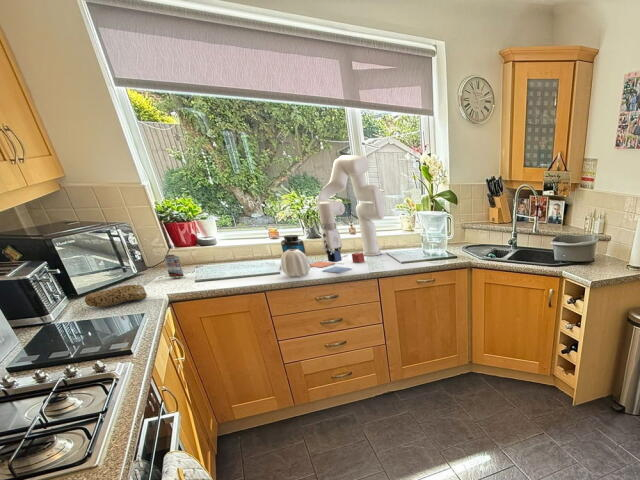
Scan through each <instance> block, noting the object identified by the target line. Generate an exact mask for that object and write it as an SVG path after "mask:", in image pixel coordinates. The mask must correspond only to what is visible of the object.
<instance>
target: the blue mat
mask: <svg viewBox="0 0 640 480" xmlns="http://www.w3.org/2000/svg"><path fill="white" fill-rule="evenodd" d="M349 270H352V268H351V267H344V266H332V267H329V268H327V269H324V270H322V272H323V273H331V274H341V273H344V272H346V271H349Z"/></svg>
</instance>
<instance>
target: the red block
mask: <svg viewBox="0 0 640 480" xmlns="http://www.w3.org/2000/svg"><path fill="white" fill-rule="evenodd" d="M351 259H352V263H357V264H361V263H364V262H365V255H364V254H363V253H362V252H354V253H351Z"/></svg>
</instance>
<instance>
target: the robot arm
mask: <svg viewBox="0 0 640 480" xmlns="http://www.w3.org/2000/svg"><path fill="white" fill-rule="evenodd" d="M369 169H370V161H369V159H368V157H366V156H365V155H355V154H343V155H340V156H339V157H338V158H336V159H335V160H334V161H333V164H332V169H331V175H330V178H329V182H328V183H327V184H325V185H324V186H323V187H322V188H321V190H320V191H319V192H318V196H317V201H316V209H317V212H318V215H319V220H320V227H321V238H322V245H323V247H322V251H323V252H325V254H326V255H327V254H328V256H327V260H328V259H329V261H328V262H330V263H335V262H334V257H333V254H332V251H340V253H341V251H342V247H343V243H342V239H341V234H340V231H339V229H338V227H337V222H336V217H335V216H342V215H343V214H344V213H345V211H346V207H345V204H344V203H343V202H341V201H340V200H333V199H332V200H331V197H332V196H334V195H337V194H339V193H341V192H343V191H345V190H346V189H347V185H348V180H349V178H350V180H351V185H352V189H353V193H354V194H353V195H354V197H355V199H356V200H357V201H359V202H360V203H358V204H356V206H355V213H356V216H357V219H358V224H359V229H360V230H359V231H360V236H361V244H362V251H361V253H363V254H364V257H365V256H367V257H368V256H369V257H374V256H380V255H381V254H382V252H381V249H383V248H382V246H381V245H378V238H377V229H376V225H375V223H374V222H373V220H377V221H379V220H383V219H384V218H385V206H384V202H383V197H382V193H381V190H380V188H379V186H377V185H375V184H368V183H367V179H366V175H365V173H367V172H368V171H369Z"/></svg>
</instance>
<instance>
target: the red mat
mask: <svg viewBox="0 0 640 480" xmlns="http://www.w3.org/2000/svg"><path fill="white" fill-rule="evenodd" d="M309 264H310V268H311V267H312V268H321V269H323V268H327V267H330V266H333V265H335V264H336V262H330V261H316V262H313V263H309Z"/></svg>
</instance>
